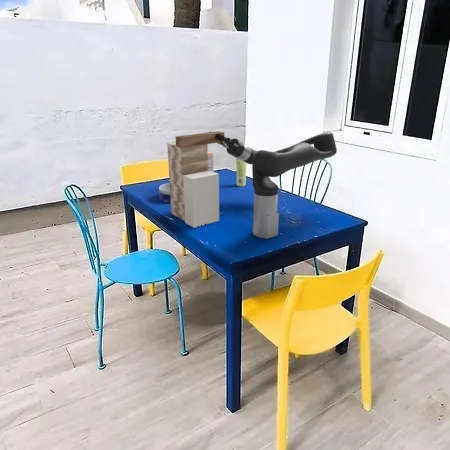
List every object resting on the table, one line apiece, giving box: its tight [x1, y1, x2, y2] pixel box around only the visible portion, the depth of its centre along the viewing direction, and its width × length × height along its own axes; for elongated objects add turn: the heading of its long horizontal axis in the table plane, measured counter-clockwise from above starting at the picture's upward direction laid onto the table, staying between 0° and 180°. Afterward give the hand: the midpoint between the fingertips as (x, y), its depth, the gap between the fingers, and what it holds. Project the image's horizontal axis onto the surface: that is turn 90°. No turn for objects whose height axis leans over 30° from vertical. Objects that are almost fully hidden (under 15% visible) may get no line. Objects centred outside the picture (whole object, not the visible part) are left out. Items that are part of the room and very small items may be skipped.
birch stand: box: [166, 141, 209, 222], centre depth 172 cm, size 12×12×32 cm
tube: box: [235, 157, 247, 187], centre depth 216 cm, size 6×5×20 cm
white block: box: [183, 171, 220, 229], centre depth 165 cm, size 7×13×21 cm, turn 127°
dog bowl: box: [158, 182, 171, 203], centre depth 199 cm, size 15×15×6 cm
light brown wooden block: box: [175, 130, 225, 148], centre depth 164 cm, size 4×22×4 cm, turn 127°
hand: (212, 134), depth 167 cm, fingers open, 4 cm apart
